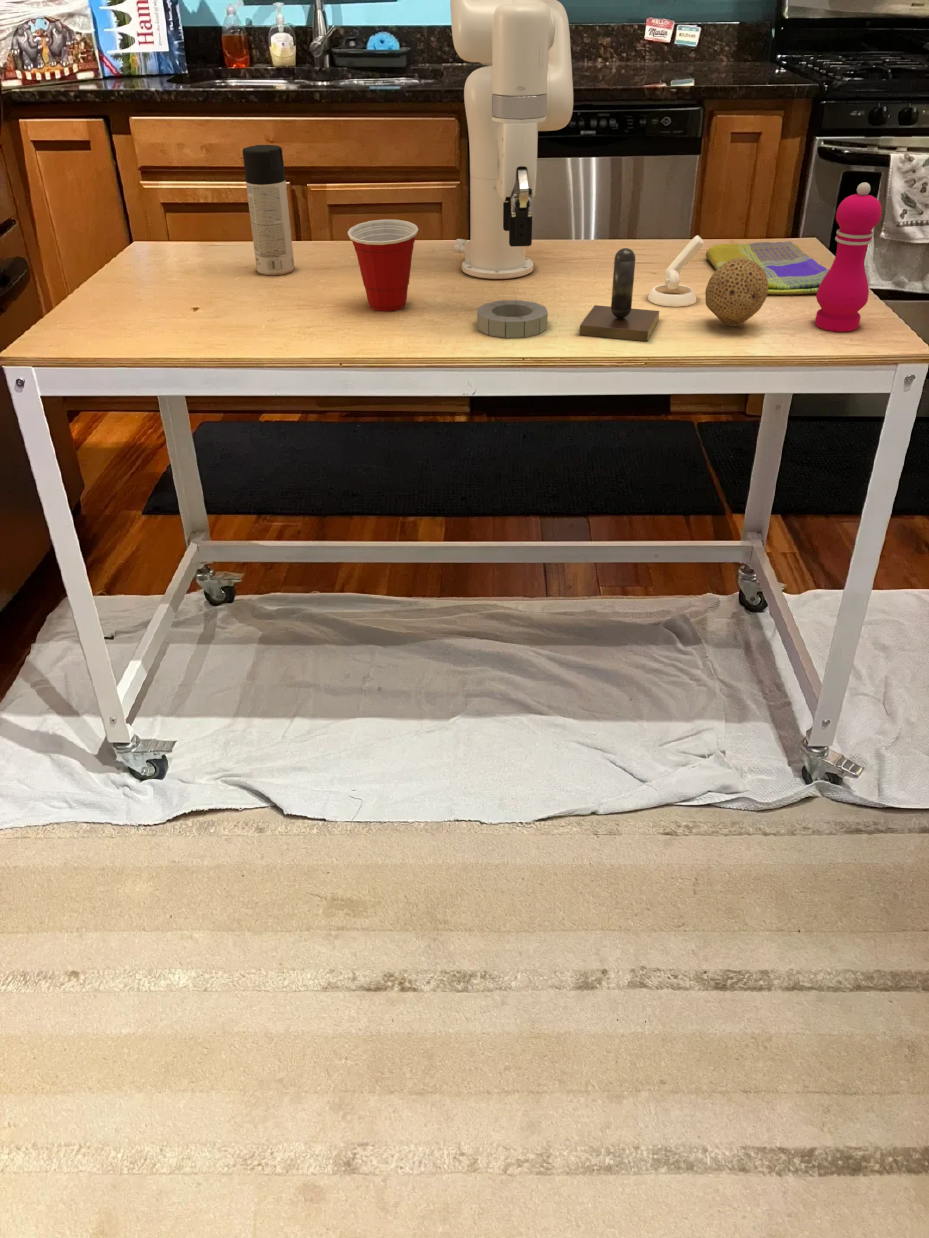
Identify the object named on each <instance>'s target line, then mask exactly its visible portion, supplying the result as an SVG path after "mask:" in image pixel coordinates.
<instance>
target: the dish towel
mask: <svg viewBox="0 0 929 1238" xmlns="http://www.w3.org/2000/svg"><path fill="white" fill-rule="evenodd" d="M705 257H706V259H707V260H708V261H709V263H710V264H711V265H712V266H713V267H714V269H715V271H716V270H717V269H718V268H719V267H720V266H722V265H723V264H724V263H726V262H727V261H729V260H732V259H734V258H746V259H749V260H752V261H754V262H756V263H757V264H758V265H759V266H760V267H761V268H762V269H763V270H764V272H765V274H766V276H767V280H768V293H767V295H801V294H802V295H804V294H806V295H807V294H817V291H818V288H819V286H820V284H821V282H822V280H823V278H824V277H825V275H826V274H827V273H828V271H829V270H830V268H829V269H828V268H827V267H825V266H823V265H822V264H819V263H818V262H817V261H816V260H815V259H814V258H812V257H810V256H809V255H808V254H807V253H804V251H803V250H802V249H801V248H800V246H798V244H796V243H793V241H791V240H788V241H777V242H769V241H762V242H761V241H760V242H753V243H742V244H741V243H720V244H716V245H713V246H711V247H709V248H708V249H707V250H706V251H705Z"/></svg>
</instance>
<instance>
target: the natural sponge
mask: <svg viewBox="0 0 929 1238" xmlns="http://www.w3.org/2000/svg"><path fill="white" fill-rule="evenodd" d="M767 293H768V280H767V276H766V274H765V272H764V270H763V269H762V268H761V267H760V266H759V265H758V264H757V263H756V262H754V261H752V260H749V259H746V258H734V259H732V260H729V261H727V262H726V263H724V264H723V265H722V266H720V267H719V268H718V269H717V270H716V269H715V271H714V272H713V273H712V275H711V276H710V278H709V280H708V282H707V284H706V288H705V293H704V294H705V299H704V301H705V302H704V303H705V305H706V308H707V309H708V310H709V311H710V312H712V314H714V316H716V318H717V319H718V320H719V321H720V322H721V323H723V324H724V325H726V326H728V327H732V328H733V327H737V326H740V325H743V324H744V323H746V322H747V321H748V320H749V319H751V318H752V317H753V316H754V315H756V314H757V313H758V311H760V309H761V308H763V307H762V306H763V305H764V303H765V302H766V299H767V297H768V294H767Z"/></svg>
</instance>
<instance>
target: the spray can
mask: <svg viewBox="0 0 929 1238" xmlns="http://www.w3.org/2000/svg"><path fill="white" fill-rule="evenodd" d="M283 155H284V153H283V148H282V146H280V145H275V144H274V145H273V144H256V145H251V146H247V147H244V148H242V159H243V168H244V177H245V178H244V179H245V185H246V194H247V195H246V196H247V202H248V211H249V219H250V227H251V234H252V235H251V236H252V243H253V251H254V260H255V267H256V271H257V273H258V274H260V275H263V276H265V275H266V276H283V275H288V274H289V273H292V272H293V271H294V270H295V259H294V250H293V240H292V231H291V230H292V229H291V228H292V227H291V219H290V209H289V200H288V191H287V180H286V172H285V163H284V156H283Z"/></svg>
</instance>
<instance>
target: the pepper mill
mask: <svg viewBox="0 0 929 1238" xmlns="http://www.w3.org/2000/svg"><path fill="white" fill-rule="evenodd" d="M870 192H871V185H870V183H868V182H861V183H860V184H858V185H857V188H856V193H854V194H851V195H849V196H847V197H844V199H843V200H842V201H841V202H840V203H839V205H838V207H837V210H836V214H835V220H836V221H835V222H836V223H837V224H838V226H839V228H838V229H837V230H836V236H835V237H834V240H835V242H837V246H836V252H835V256H834V260H833V262H832V264H831V267H829V271H828V273H827V274H826V275H825V277H824V278H823V280H822V282H821V284H820V286H819V288H818V291H817V293H816V297H815V298H816V301H817V303H818V306H819V307H820V309H818V310H817V311H816V314H815V321H814V325H815V326H816V327H818V328H820V329H821V330H826V331H830V332H838V333H839V332H840V333H847V332H852V331H856V330H857V329H858V328H859V327H860V321H861V318H862V317H861V314H860V313H859V311H860V310H861V309H863V308H864V307H865V306H866V305H867V303H868V301H869V294H870V292H869V291H870V290H869V281H868V277H867V273H866V266H865V260H866V253H867V249H868V246H869V245H870V244H872V243H873V236H874V231H872V230H873V229H874V228H875V227H876V226H877V225H878V224H879V223H880V221H881V218H882V213H883V211H882V210H883V209H882V204H881V202H880V200H879V199H877V198H876V197H875V196H873V195H870V194H869V193H870Z"/></svg>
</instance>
